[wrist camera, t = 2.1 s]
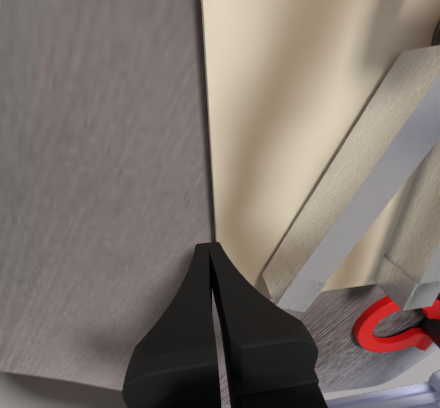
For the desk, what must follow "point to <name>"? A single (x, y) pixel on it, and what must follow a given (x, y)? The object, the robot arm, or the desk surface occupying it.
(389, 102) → the bar
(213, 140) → the board
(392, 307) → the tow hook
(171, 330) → the robot arm
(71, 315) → the desk surface
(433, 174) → the tong base
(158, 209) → the desk surface
